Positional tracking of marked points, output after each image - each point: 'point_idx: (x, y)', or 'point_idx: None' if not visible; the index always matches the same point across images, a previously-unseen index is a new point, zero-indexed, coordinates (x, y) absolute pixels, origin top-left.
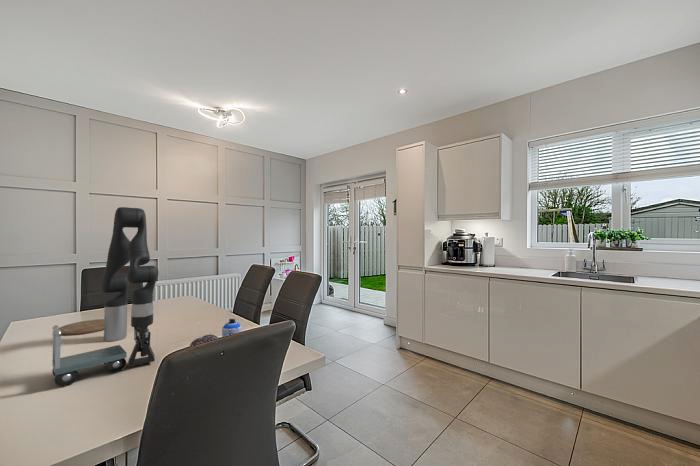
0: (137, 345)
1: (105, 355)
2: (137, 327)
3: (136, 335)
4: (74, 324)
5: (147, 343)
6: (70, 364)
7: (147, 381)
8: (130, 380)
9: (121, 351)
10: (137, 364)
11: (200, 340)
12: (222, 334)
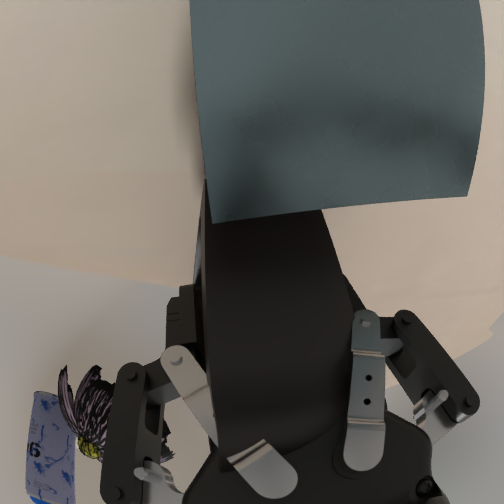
0: (207, 346)
1: (287, 20)
2: (396, 474)
3: (347, 403)
4: None
5: (146, 406)
6: None
7: (4, 252)
8: (31, 186)
9: (296, 181)
10: (198, 230)
11: None
12: (36, 482)
